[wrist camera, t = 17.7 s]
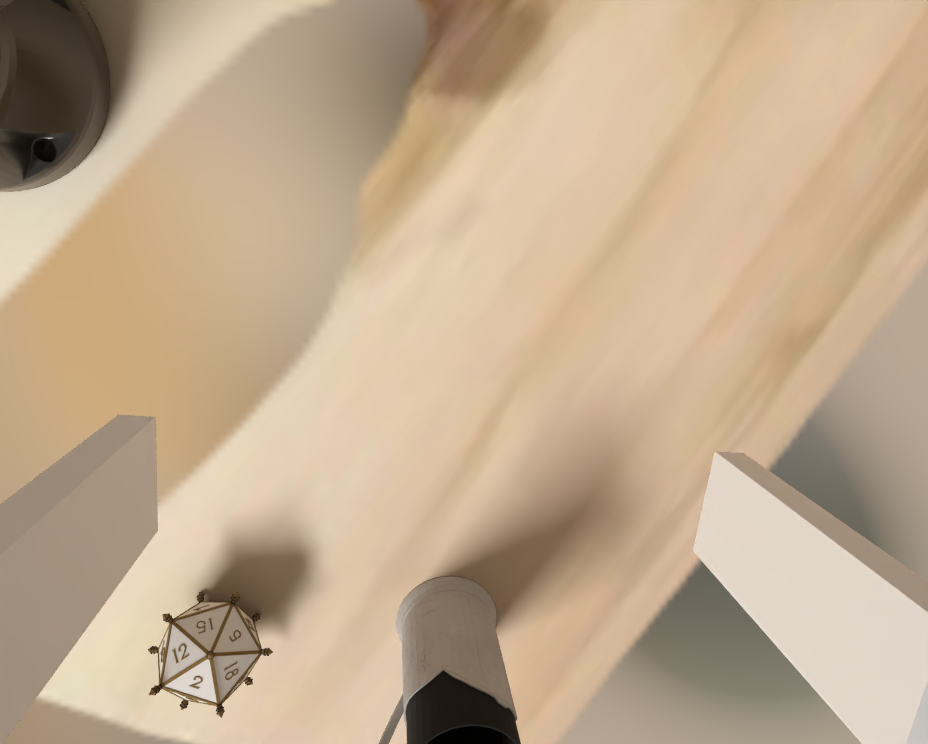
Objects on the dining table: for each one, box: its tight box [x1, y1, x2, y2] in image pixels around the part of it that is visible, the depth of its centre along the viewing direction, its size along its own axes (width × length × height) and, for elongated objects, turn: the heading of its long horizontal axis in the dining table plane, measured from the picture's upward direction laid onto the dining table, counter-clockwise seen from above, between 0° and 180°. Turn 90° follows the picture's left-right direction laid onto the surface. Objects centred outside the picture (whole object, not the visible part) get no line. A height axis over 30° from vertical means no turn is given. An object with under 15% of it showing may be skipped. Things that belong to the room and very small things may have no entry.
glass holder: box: [379, 576, 521, 744], centre depth 47 cm, size 9×14×15 cm, turn 136°
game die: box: [148, 592, 273, 718], centre depth 47 cm, size 9×8×10 cm
